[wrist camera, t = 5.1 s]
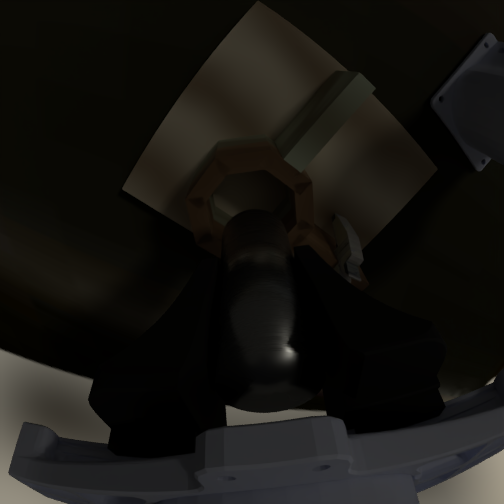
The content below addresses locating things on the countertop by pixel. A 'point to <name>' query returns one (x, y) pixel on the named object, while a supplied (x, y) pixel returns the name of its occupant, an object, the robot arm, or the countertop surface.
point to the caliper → (346, 249)
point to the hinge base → (279, 144)
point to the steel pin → (263, 320)
